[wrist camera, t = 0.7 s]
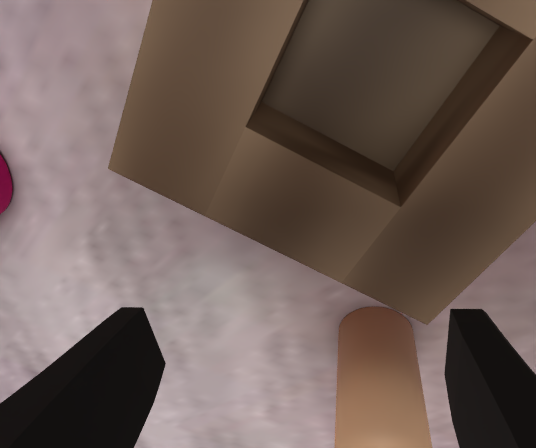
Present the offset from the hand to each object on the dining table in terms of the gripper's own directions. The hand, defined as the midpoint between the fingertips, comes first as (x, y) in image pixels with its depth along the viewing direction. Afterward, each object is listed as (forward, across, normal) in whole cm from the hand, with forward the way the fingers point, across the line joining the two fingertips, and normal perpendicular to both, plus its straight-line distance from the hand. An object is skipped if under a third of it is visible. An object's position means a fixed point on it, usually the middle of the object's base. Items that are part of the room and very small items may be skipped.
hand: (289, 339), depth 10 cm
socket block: (+10, -2, -4) cm, 11 cm away
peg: (+10, -2, +10) cm, 15 cm away
